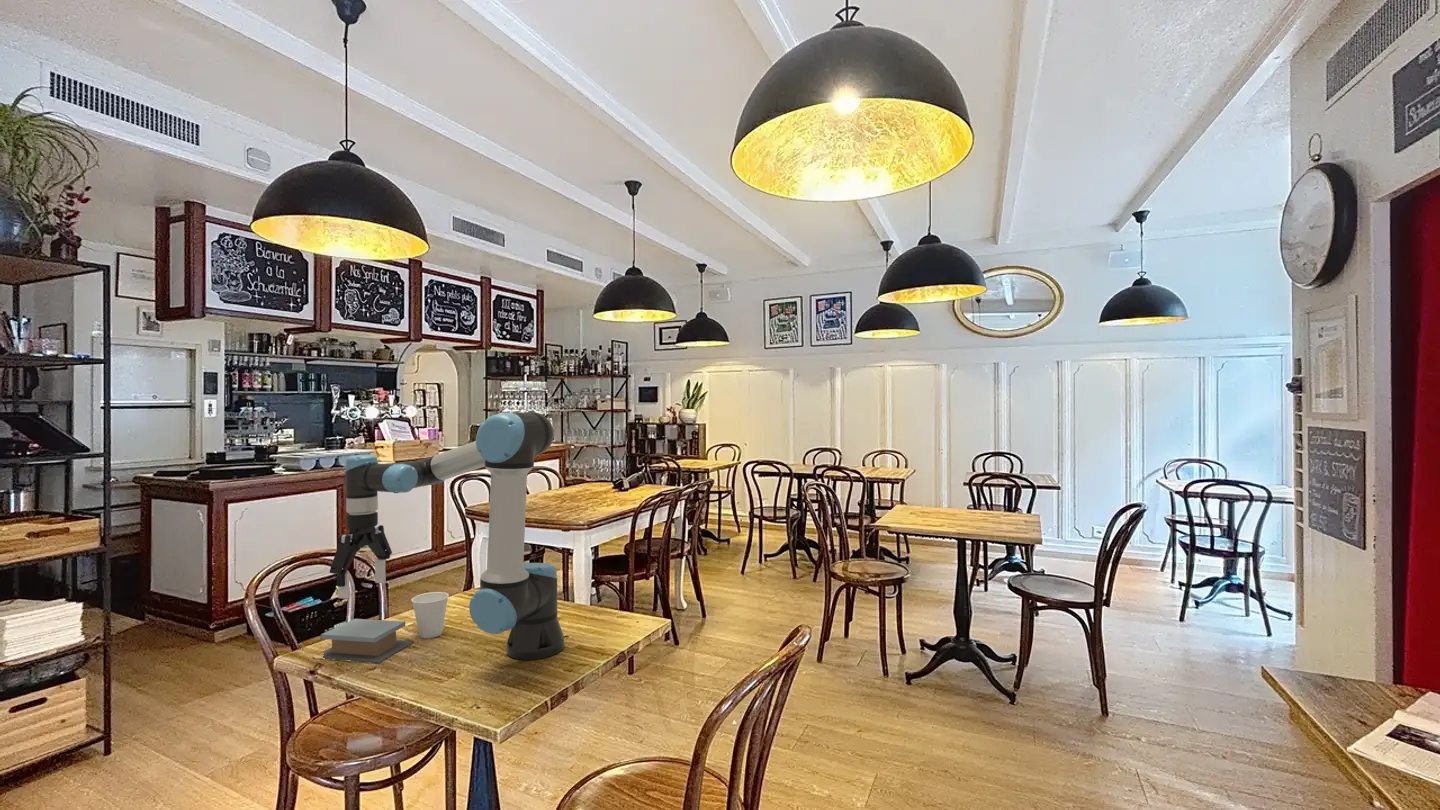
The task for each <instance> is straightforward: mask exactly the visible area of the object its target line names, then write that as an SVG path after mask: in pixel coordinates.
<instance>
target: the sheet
mask: <svg viewBox="0 0 1440 810" xmlns="http://www.w3.org/2000/svg"><path fill="white" fill-rule="evenodd" d="M404 627H406V621H401V620H385V619H380V620H379V619H370V618H369V619H367V618H366V619H365V618H364V619H363V618H353V619H351V620H349V621H347V622H344V623H343V624H341V625H338V626H336V627H334V628H331V629H329V630H328V631H325V632H323V633H321V634H320V639H321V640H331V641H332V640H345V641H360V642H376V641H378V640H380V639H382V638H384V637H386V636H388V635H389V634H391V633H393V632H395V631H396V632H397V631H399V630H400V629H402V628H404Z"/></svg>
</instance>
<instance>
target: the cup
mask: <svg viewBox="0 0 1440 810" xmlns="http://www.w3.org/2000/svg"><path fill="white" fill-rule="evenodd" d="M449 597H450V595H449V593H447V592H444V591H443V592H442V591H434V592H433V591H431V592H425V593H421V594H418V595H415V596H414V597H412V598H411V599H410V601H411V603H412V607H413V611H414V615H415V620H416V626H417V631H418V636H419V637H420V638H421V639H426V638H427V639H433V638H436V637H440V636H441V635H442V634H443V631H444V624H445V618H446V612H447V606H448V598H449Z"/></svg>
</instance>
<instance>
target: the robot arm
mask: <svg viewBox="0 0 1440 810" xmlns="http://www.w3.org/2000/svg"><path fill="white" fill-rule="evenodd" d="M476 432H477V433H476V437H475V441H472V442H469V443H465V444H463V445H460V446H458V447H455V448H453V449H448V450H447V451H443V452H441V453H438V454H436V455H432V456H429V457H427V458H422V459H418V460H412V461H411V460H410V461H403V462H395V463H379V461H378V457H377V456H376V455H373V454H361V455H360V454H357V455H350V456H348V457H347V458H346V460H345V470H344V474H345V500H346V501H345V502H346V503H345V511H346V513H347V514H346V515H345V526H346V528H347V529H348V534H340V535H339V536H338V537H339V538H338V545H337V548H336V550H335V553H334V557H333V560H332V562H331V566H330V569H329V574H335V575H336V586H337V598H338V599H346V600H347V599H350V573H349V572H348V570H349V569H350V567H351V564H352V563H353V560H354V558H355V556H356V555H357V553H358V552H359V551H360V550H361V549H362V548H364V547H368V548H369V549H370V551H371V552H372V553H373V554H374V556H375V557H376V559H375V560H374V578H375V579H374V583H375V584H386V583H387V582H386V580H387V579H386V578H387V577H386V575H387V574H386V570H387V560H389V559H391V555H393V551H392V548H391V545H390V544H389V542H388V539H387V537H386V533H385V528H384V525H382V524H381V525H380V524H379V518H378V517H379V515H378V514H379V513H378V512H377V510H378V509H379V501H378V500H379V499H378V498H379V497H378V493H379V492H382V493H383V492H384V493H393V494H399V493H400V494H401V493H402V494H403V493H409V492H410V491H412V490H413V489H416V488H420V487H426V486H434V485H438V484H441V483H443V482H445V481H446V480H448V479H451V478H454V477H457V476H461V475H463V474H466V473H469V472H472V471H475V470H478V469H481V468H482V469H483V468H485V469H486V470H487V471H488V472H489V474H490V486H489V487H490V488H489V491H490V492H489V514H488V515H489V517H488V540H487V541H488V542H487V543H488V544H487V545H488V546H487V567H486V569H485V570H484V571H483V572H482V573H481V574H480V578H479V579H480V580H479V589H478V590H476V592H475V593H474V594H473V595H472V596H471V598H470V601H469V606H468V607H469V609H468V610H469V614H470V617H471V619H472V622H473V623H474V624H475V625H476V626H477V627H478V629H480V630H481V631H483V632H484V633H487V634H491V635H497V634H498V635H500V634H502V633H504V632H507V631H510V632H509V634H508V638H507V641H506V655H507V656H509V658H512V659H514V660H515V659H516V660H521V661H522V660H526V661H527V660H528V661H531V660H539V659H544V658H549V657H552V656H554V655H556V654H558V653H559V651H560V652H562V650H564V648H565V636H564V632H563V629H562V627H561V624H560V621H559V617H558V580H559V579H558V574H557V567H556V566H555V565H554V564H552V563H545V562H525V563H524V561H525V560H524V558H525V556H524V555H525V534H526V533H525V532H526V511H527V509H526V508H527V491H528V490H527V486H528V485H527V484H528V483H527V482H528V473H529V472H530V471H532V470H533V469H534V468H535V467H534V466H535V465H534V464H535V456H539V455H541V454H544V453H545V452H546V451H547V450H549V448H550V447H551V445H552V444H553V441H554V437H555V430H554V426H553V424H552V423H551V421H550V420H549V419H548V417H546V416H545V415H543V414H541V413H540V412H535V411H526V412H502V413H497V414H494V415H490V416H489V417H487V418H486V419H485V420H484V421H482V422H481V424H480V426H479V428H478V429H477V431H476ZM563 647H564V648H563Z"/></svg>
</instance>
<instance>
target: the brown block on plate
mask: <svg viewBox="0 0 1440 810" xmlns="http://www.w3.org/2000/svg"><path fill="white" fill-rule="evenodd" d="M414 643H415V641H414V640H399V639H397V631H395V632H393V633H391V634H389V635H388V636H386V637H384V638H382V639H380V640H378V641H376V642H360V641H345V640H331V647H329V648H326V649H325V650H324V651H322V652H323V653H324V654H323V655H324V656H323V658H325V659H335V660H334V661H336V660H351V661H359V662H358V663H364V662H371V663H370V664H378V663H379V664H382V663H383V662H384V661H386V660H388V659H390V658H391V657H393V656H394V655H396V654H398V653H399V652H401V651H403V650H405V649H406V648H408V647H410V646H412V645H413V644H414ZM382 661H383V662H382Z"/></svg>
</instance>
